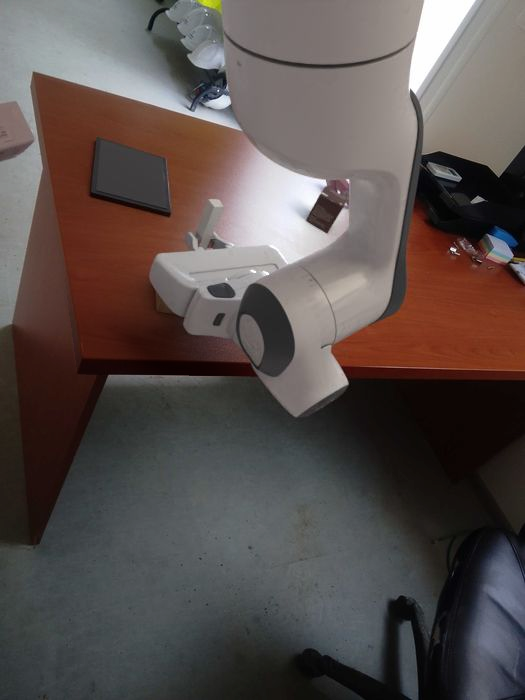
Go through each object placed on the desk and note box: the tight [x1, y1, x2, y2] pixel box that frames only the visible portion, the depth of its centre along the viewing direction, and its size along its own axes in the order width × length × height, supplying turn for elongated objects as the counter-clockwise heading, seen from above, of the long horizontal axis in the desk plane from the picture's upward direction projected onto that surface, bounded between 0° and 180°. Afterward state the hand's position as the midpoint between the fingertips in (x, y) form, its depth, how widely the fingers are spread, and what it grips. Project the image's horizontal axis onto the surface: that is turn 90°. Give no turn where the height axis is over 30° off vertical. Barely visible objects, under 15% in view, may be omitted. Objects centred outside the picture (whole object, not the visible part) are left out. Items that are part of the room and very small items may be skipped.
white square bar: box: [195, 198, 224, 250], centre depth 64 cm, size 2×2×15 cm
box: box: [306, 185, 347, 234], centre depth 106 cm, size 6×6×7 cm
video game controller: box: [325, 179, 349, 208], centre depth 120 cm, size 10×5×7 cm
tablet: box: [89, 136, 172, 218], centre depth 87 cm, size 20×14×1 cm
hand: (198, 235), depth 63 cm, fingers closed on white square bar, 1 cm apart
